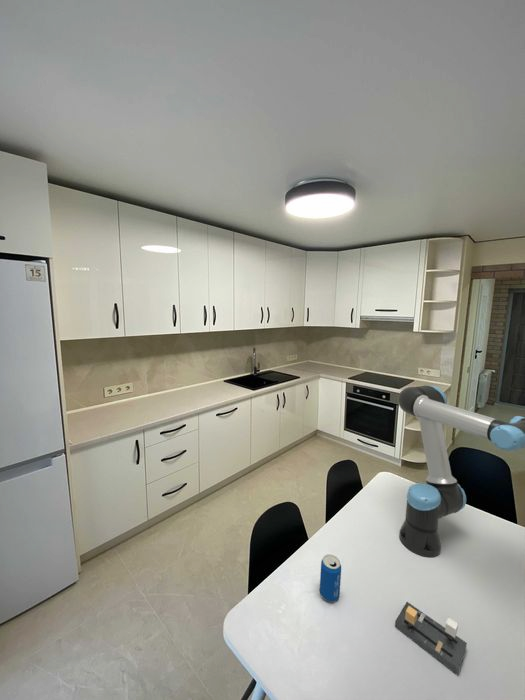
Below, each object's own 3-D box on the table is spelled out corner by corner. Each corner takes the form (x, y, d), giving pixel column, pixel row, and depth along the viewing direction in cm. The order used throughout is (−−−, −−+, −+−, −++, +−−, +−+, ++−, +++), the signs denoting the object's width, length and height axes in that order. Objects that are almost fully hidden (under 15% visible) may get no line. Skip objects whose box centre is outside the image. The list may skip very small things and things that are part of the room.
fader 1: (404, 624, 85) (405, 610, 84) (407, 618, 86) (408, 605, 86) (413, 630, 83) (414, 617, 83) (416, 625, 85) (417, 611, 84)
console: (394, 626, 86) (395, 620, 86) (406, 607, 92) (406, 601, 92) (457, 675, 75) (458, 668, 74) (466, 649, 81) (466, 642, 81)
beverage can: (328, 607, 91) (330, 572, 90) (315, 590, 97) (317, 557, 96) (343, 598, 94) (345, 565, 93) (330, 582, 100) (332, 550, 99)
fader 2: (444, 636, 82) (445, 623, 81) (446, 630, 83) (448, 617, 83) (454, 643, 80) (455, 629, 80) (456, 637, 82) (458, 623, 81)
